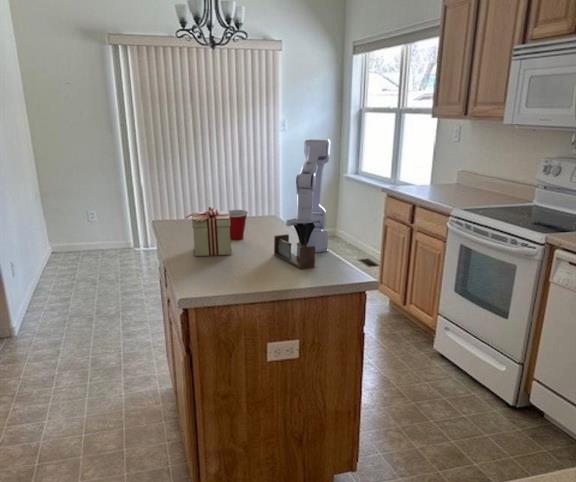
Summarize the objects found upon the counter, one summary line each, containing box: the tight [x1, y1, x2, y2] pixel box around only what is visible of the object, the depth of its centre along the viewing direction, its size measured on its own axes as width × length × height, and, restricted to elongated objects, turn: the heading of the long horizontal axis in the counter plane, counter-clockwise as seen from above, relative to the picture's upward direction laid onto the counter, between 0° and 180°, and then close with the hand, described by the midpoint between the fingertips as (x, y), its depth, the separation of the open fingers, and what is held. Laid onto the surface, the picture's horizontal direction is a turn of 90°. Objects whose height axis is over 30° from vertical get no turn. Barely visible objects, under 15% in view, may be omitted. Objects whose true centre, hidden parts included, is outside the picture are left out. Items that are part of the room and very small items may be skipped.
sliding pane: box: [296, 238, 307, 259], centre depth 202 cm, size 1×9×9 cm, turn 28°
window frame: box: [273, 233, 316, 270], centre depth 206 cm, size 6×22×8 cm, turn 28°
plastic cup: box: [227, 209, 249, 241], centre depth 237 cm, size 11×11×12 cm
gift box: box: [184, 206, 232, 257], centre depth 214 cm, size 17×18×17 cm
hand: (303, 243), depth 201 cm, fingers closed
